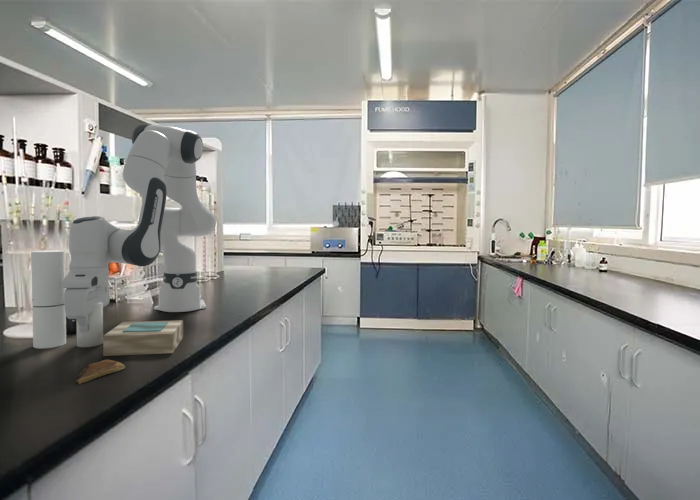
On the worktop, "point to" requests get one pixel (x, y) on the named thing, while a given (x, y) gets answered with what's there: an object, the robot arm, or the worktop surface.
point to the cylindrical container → (48, 298)
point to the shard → (99, 370)
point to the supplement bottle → (71, 326)
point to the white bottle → (92, 329)
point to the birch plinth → (143, 338)
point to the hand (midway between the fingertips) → (90, 328)
